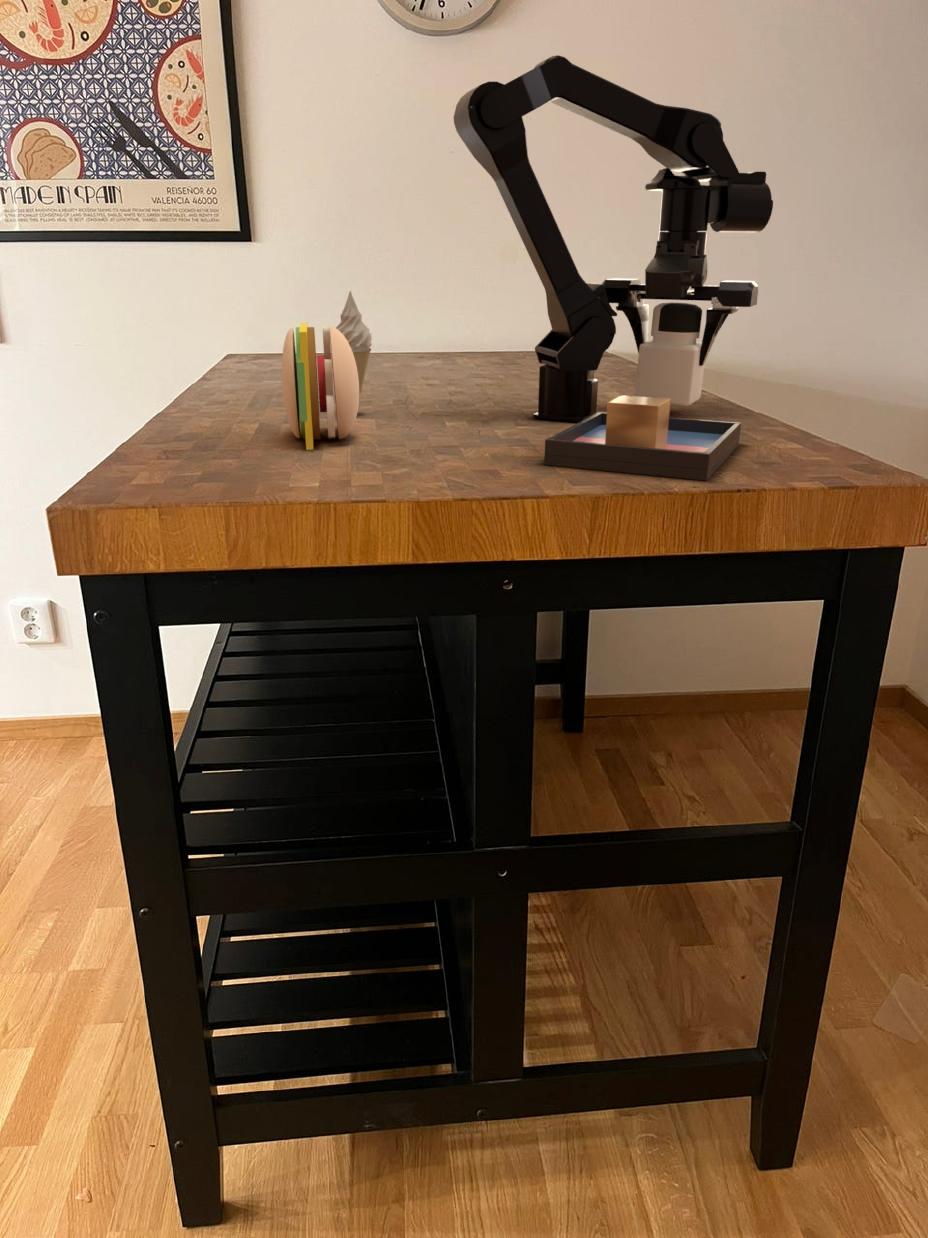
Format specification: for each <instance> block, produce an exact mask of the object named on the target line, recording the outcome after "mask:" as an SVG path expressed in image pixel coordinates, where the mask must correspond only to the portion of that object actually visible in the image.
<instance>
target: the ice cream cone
mask: <svg viewBox="0 0 928 1238" xmlns="http://www.w3.org/2000/svg"><path fill="white" fill-rule="evenodd" d="M339 316H340V323H338V325H337V326H336V327H335V328H336V329H337V330H339V331H340V332H341V333H342V334H343V335H344V337H345V338H346V339H347V341H348V343H349V345H350V347H351V350H352V352H353V355H354V358H355V362H356V366H357V372H358V379H359V400H360V399H361V394H362V390H363V385H364V382H365V381H364V380H365V376H366V372H367V368H368V364H369V359H370V355H371V351H372V348H371V347H372V339H373V337H372V333H371V332H370V328H369V327H368V326H367V325H366V324H365V323H364V322H363V314H362V313H361V312H360V310H359V308H358V306H357V304H356V301H355V299H354V297H353V294H352V290H349V292H348V295H347V299H346V302H345V304H344V308H343V310H342V312H341V313H340V315H339Z"/></svg>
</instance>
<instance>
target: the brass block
mask: <svg viewBox="0 0 928 1238" xmlns="http://www.w3.org/2000/svg"><path fill="white" fill-rule="evenodd" d="M670 400H671V399H669V398H654V397H639V396H635V395H624V394H623V395H620V396H617V397H616V398H614V399H612V400H610V401H608V402H607V407H606V413H607V421H606V438H605V444H613V445H624V446H636V447H647V448H658V449H666V447H667V435H668V423H669V417H670V411H671V405H670Z"/></svg>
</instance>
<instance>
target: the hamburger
mask: <svg viewBox="0 0 928 1238" xmlns="http://www.w3.org/2000/svg"><path fill="white" fill-rule="evenodd" d="M299 325H300V326H296V327H295V332H294V327H291V328H289V329H288V331H287V332H286V335H285V338H284V343H283V349H282V355H281V385H282V386H281V387H282V394H283V395H282V396H283V402H284V403H283V404H284V408H285V413H286V418H287V421H288V424H289V427H290V430H291V432H292V433H293V435H294V436H295V438H297V439H301V437H302V440H305V450H306V451H313V450H314V440H321V424H320V413H326V420H327V421H326V422H327V438H328V440H336V426H337V435H338V440H341V439H344V438H346V437H347V436H348V435H349V434H350V433H351V431H352V430H353V427H354V425H355V423H356V420H357V417H358V412H359V405H360V404H359V403H360V399H359V379H358V372H357V366H356V362H355V358H354V355H353V352H352V350H351V347H350V345H349V343H348V341H347V339H346V338H345V337H344V335H343V334H342V333H341V332H340V331H339V330H337V329H336V327H334V326H327V325H325V326H324V325H323V326H322V342H323V343H322V344H323V345H322V346H323V354H321V355H320V354H318V355H317V348H316V335H315V334H316V331H315V327H314V326H309V323H308V322H300V324H299ZM335 413H336V414H335ZM335 415H336V420H335ZM335 421H336V422H335ZM336 424H337V425H336Z"/></svg>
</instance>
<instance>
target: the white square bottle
mask: <svg viewBox="0 0 928 1238" xmlns="http://www.w3.org/2000/svg"><path fill="white" fill-rule="evenodd" d="M702 318H703V308H701V307H700V306H698V305H697V304H693V303H687V302H661V303H659V304H657V305H655V306H654V307H653V310H652V319H651V327H650V328H651V329H650V336H651V337H652V340H650V341H648V342H646V343H643V344H641V345H640V348H639V353H638V357H637V359H638V360H637V369H636V379H635V389H634V396H639V397H654V398H669V399H671V400H670V406H677V407H690V406H691V405H692V404H694V403H696V402H697V401H699V400H700V399H701V397H702V389H703V381H704V374H705V365H706V362H705V363H704V365H703V366H699V360H700V350H701V345H702V341H697V339H700V334H701V325H702Z"/></svg>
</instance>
